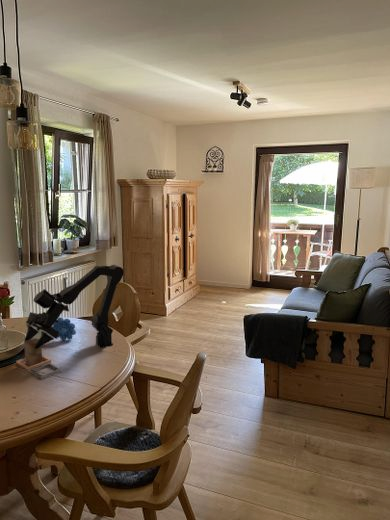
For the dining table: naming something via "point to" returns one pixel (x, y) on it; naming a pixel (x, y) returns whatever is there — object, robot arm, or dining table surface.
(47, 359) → the terracotta socket
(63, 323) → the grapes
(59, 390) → the dining table surface
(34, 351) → the walnut plug block
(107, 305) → the robot arm
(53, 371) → the grey metal socket
